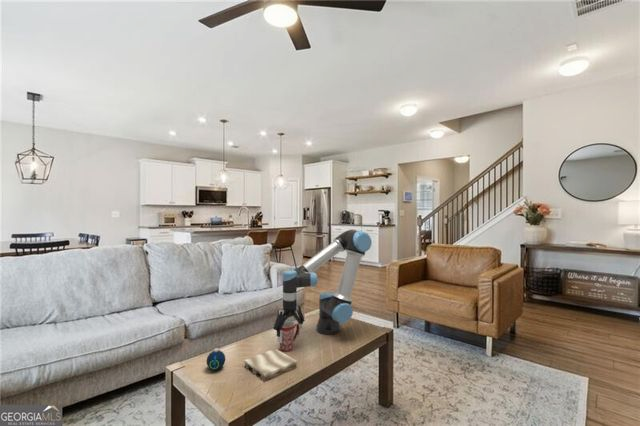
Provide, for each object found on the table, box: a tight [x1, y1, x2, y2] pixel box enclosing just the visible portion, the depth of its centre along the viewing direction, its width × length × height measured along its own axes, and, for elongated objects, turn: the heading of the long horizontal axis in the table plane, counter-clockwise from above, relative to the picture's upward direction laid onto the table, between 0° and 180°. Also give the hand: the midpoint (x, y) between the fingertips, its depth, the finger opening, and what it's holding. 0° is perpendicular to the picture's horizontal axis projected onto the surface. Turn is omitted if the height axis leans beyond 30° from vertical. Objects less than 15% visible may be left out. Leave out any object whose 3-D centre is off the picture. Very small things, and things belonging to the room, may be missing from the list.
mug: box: [278, 320, 299, 352], centre depth 167 cm, size 13×9×14 cm
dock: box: [244, 348, 298, 382], centre depth 147 cm, size 18×18×3 cm
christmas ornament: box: [206, 347, 226, 371], centre depth 145 cm, size 8×8×10 cm
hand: (289, 338), depth 167 cm, fingers closed on mug, 12 cm apart
